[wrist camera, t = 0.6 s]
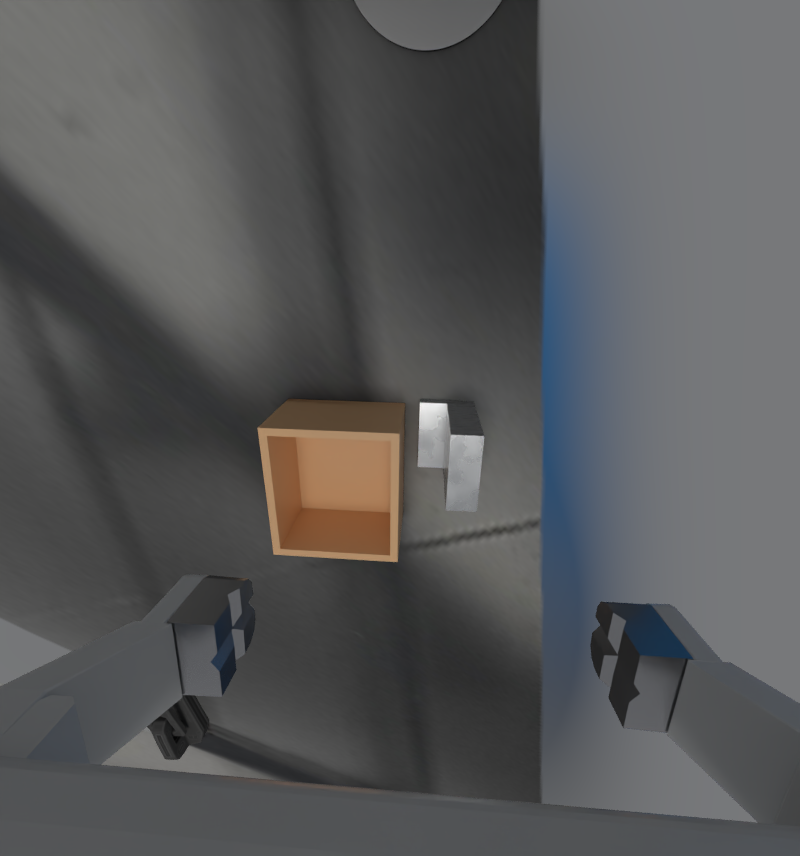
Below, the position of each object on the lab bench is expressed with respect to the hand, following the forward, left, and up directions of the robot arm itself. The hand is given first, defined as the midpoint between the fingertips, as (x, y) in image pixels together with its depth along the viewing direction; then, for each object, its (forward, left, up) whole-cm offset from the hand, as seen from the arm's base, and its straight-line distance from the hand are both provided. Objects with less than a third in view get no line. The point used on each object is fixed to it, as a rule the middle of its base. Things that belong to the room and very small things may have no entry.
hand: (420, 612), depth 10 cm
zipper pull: (+58, -41, -37) cm, 80 cm away
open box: (+15, -9, -36) cm, 40 cm away
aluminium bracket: (+11, +2, -36) cm, 38 cm away
